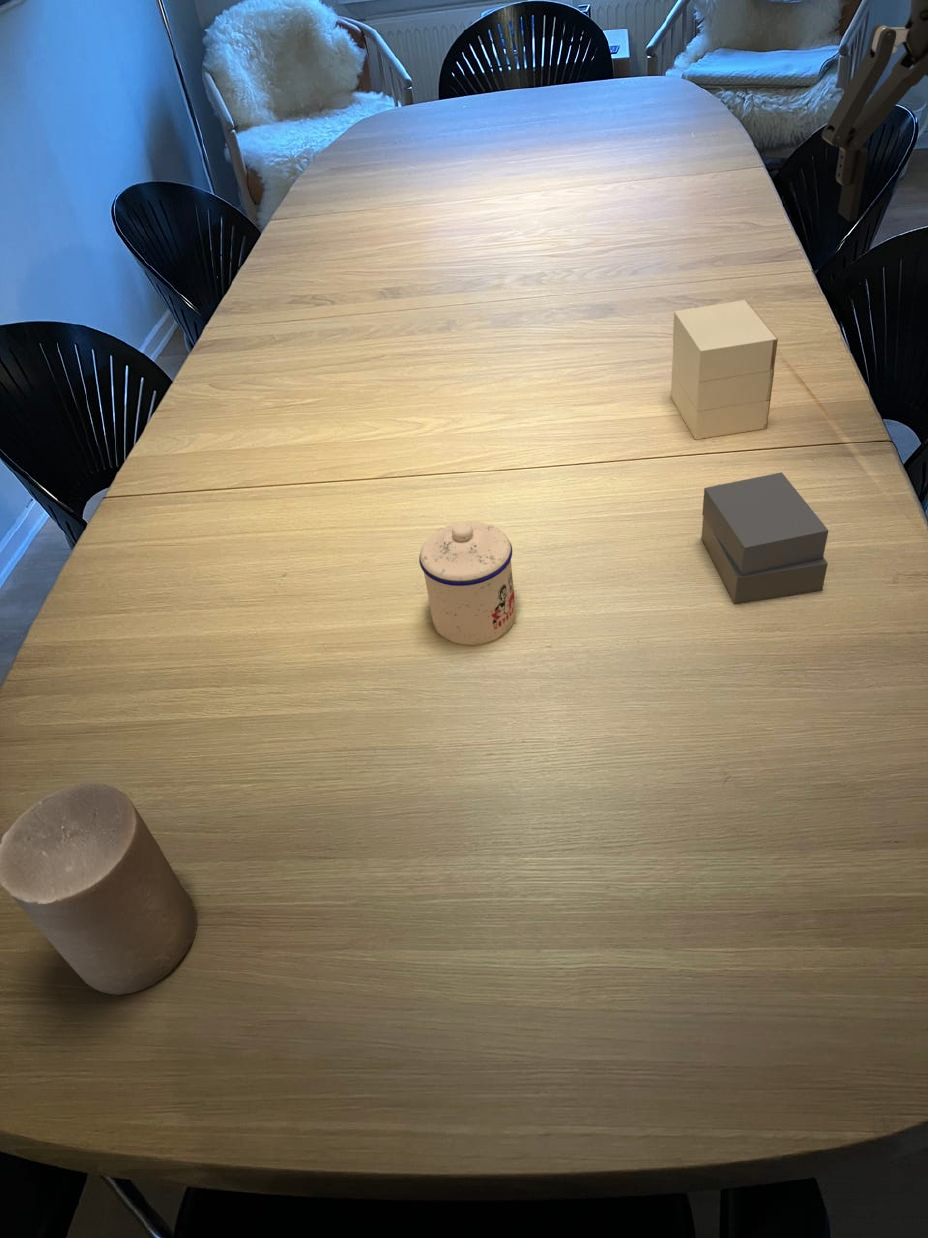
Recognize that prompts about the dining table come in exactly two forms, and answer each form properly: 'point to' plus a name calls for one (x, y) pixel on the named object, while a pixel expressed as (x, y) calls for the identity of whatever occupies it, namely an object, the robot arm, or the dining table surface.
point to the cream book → (724, 340)
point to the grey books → (763, 538)
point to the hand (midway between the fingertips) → (913, 206)
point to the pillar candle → (98, 887)
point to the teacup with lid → (469, 582)
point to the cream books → (720, 400)
